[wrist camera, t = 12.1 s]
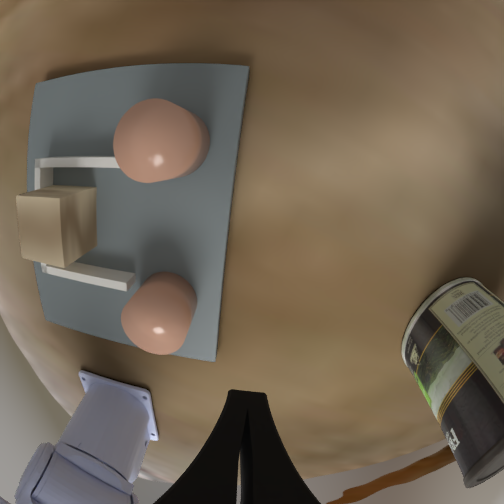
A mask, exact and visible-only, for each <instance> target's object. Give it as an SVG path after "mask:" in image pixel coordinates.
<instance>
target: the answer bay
mask: <svg viewBox="0 0 504 504" xmlns="http://www.w3.org/2000/svg"><path fill="white" fill-rule="evenodd" d="M53 167H99V168H120V167H119V166H118V164H117V161H116V159H115V156H67V157H46V158H39V159H35V190H37V189H41V188H44V187H48V186H52V185H53ZM41 268H42V272H43V273H47V274H51V275H55V276H59V277H63V278H68V279H72V280H76V281H80V282H85V283H89V284H94V285H98V286H103V287H108V288H112V289H117V290H122V291H128V290H129V289H130V287H131V286H132V285H133V284H134V283H135V282H136V276H135V273H130V272H125V271H119V270H114V269H108V268H103V267H97V266H92V265H87V264H82V263H77V262H73V263H71V264H70V265H68V266H67V267H66V268H62V267H57V266H53V265H49V264H45V263H41Z"/></svg>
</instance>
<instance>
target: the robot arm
mask: <svg viewBox="0 0 504 504" xmlns="http://www.w3.org/2000/svg"><path fill="white" fill-rule="evenodd" d="M79 376H80V379H81V382H82V385H83V387H84V390H85V393H86V394H85V396H84V397H83V399H82V401H81V402H80V404H79V406H78V407H77V409H76V411H75V413H74V414H73V416H72V418H71V419H70V421H69V423H68V425H67V426H66V428H65V430H64V432H63V434H62V435H61V437H60V439H59V441H58V443H57V444H56V445H55V446H53V445H52V444H51V443H49V442H47V443H41V444H40V445H39V447H38V448H37V450H36V452H35V453H34V455H33V456H32V458H31V460H30V462H29V463H28V465H27V467H26V469H25V471H24V473H23V475H22V477H21V480H20V482H19V486H18V488H17V490H16V493H15V499H16V502H15V503H16V504H140V503H139V500H138V498H137V496H136V495H135V494H134V493H132V490H133V487H134V485H133V484H131V483H133V482H134V481H135V480H136V478H137V476H138V474H139V471H140V468H141V465H142V462H143V459H144V455H145V452H146V449H147V446H148V443H149V440H154V441H158V439H159V436H158V431H157V426H156V422H155V417H154V411H153V406H152V400H151V394H150V392H149V391H148V390H146V389H143V388H139V387H136V386H132V385H128V384H125V383H121V382H118V381H114V380H111V379H108V378H105V377H101V376H98V375H95V374H92V373H89V372H86V371H84V370H80V372H79ZM239 453H240V468H241V502H240V504H321V503H320V502H319V501H318V500H317V499H316V497H315V496H314V495H313V494H312V492H311V491H310V490H309V488H308V487H307V485H306V484H305V483H304V481H303V480H302V478H301V476H300V475H299V473H298V472H297V470H296V468H295V467H294V465H293V463H292V461H291V459H290V457H289V456H288V454H287V452H286V450H285V447H284V445H283V443H282V441H281V439H280V436H279V434H278V431H277V429H276V426H275V424H274V421H273V418H272V415H271V411H270V408H269V404H268V400H267V395H266V394H265V393H260V392H250V391H241V390H233V389H231V390H229V391H228V396H227V399H226V403H225V405H224V408H223V410H222V413H221V415H220V417H219V419H218V421H217V423H216V425H215V427H214V429H213V431H212V433H211V435H210V436H209V438H208V439H207V441H206V443H205V444H204V446H203V447H202V449H201V451H200V452H199V453H198V455H197V456H196V458H195V459H194V460H193V462H192V463H191V464H190V466H189V467H188V468H187V469H186V471H185V472H184V473H183V474H182V475H181V476H180V478H179V479H178V480H177V481H176V482H175V483H174V484H173V485H172V486H171V487H170V488H169V489H168V491H166V492H165V493H164V494H163V495H162V496H161V497H160V498H159V499H158V500H157V501H156V502H155V503H153V504H236V496H237V477H238V461H239ZM0 504H10V503H9V502H7V501H6V500H4V499H3V498H2V497H0Z"/></svg>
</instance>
